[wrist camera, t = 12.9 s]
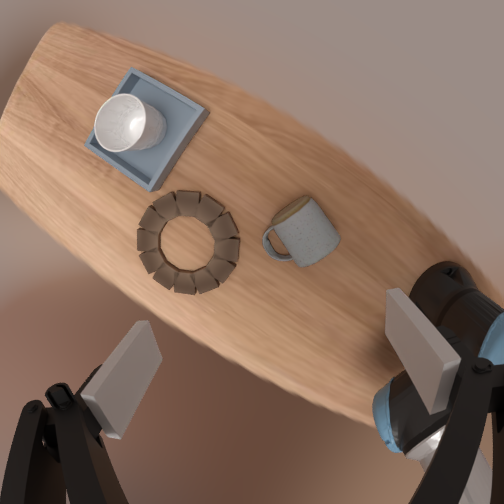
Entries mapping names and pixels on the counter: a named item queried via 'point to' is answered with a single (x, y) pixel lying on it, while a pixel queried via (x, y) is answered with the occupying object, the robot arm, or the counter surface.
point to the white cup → (129, 124)
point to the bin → (173, 144)
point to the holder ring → (207, 214)
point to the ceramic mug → (302, 233)
